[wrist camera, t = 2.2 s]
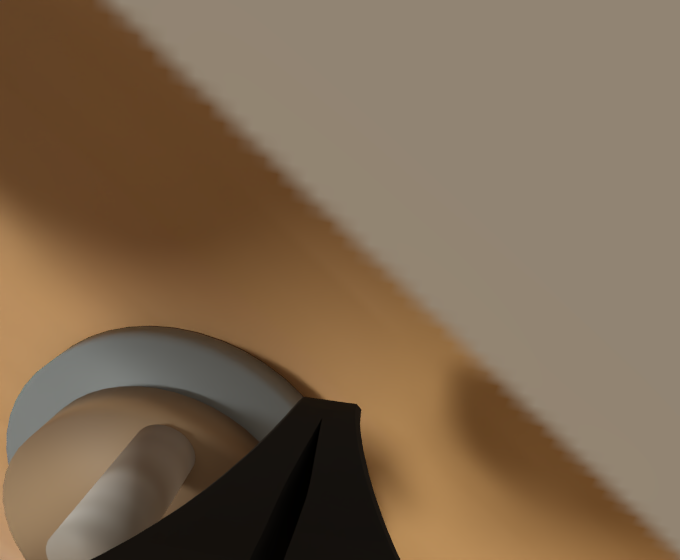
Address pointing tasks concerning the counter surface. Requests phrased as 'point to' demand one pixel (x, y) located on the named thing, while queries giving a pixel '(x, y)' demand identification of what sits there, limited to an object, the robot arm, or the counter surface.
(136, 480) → the capstan disc
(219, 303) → the counter surface
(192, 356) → the disc
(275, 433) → the robot arm
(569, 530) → the counter surface
